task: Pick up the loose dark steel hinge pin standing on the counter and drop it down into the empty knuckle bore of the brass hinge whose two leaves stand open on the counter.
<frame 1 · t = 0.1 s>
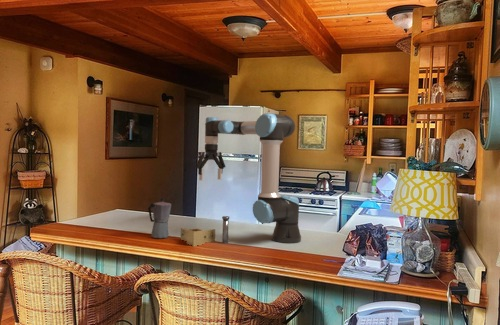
hand: (210, 179, 236), 28 cm above the countertop, fingers open, 13 cm apart
hinge: (194, 244, 195), on the countertop
pin: (225, 242, 200), on the countertop
moka pot: (159, 237, 208), on the countertop
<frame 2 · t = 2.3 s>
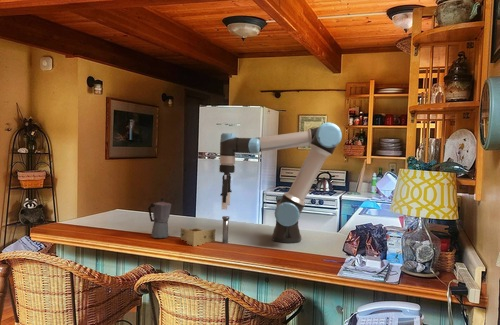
hand: (225, 207, 200), 18 cm above the countertop, fingers open, 13 cm apart
nothing on the countertop moved.
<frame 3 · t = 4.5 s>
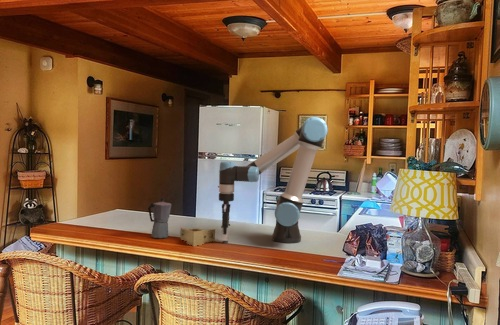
hand: (225, 239, 200), 2 cm above the countertop, fingers closed on pin, 3 cm apart
pin: (225, 242, 200), on the countertop, touching gripper
everything else where it was.
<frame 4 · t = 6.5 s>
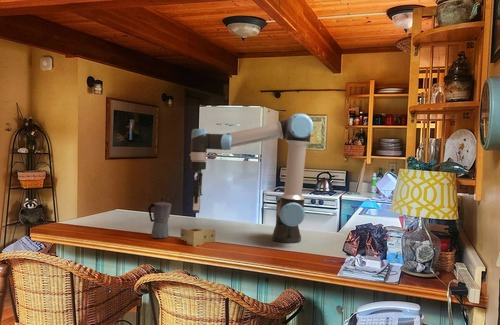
hand: (196, 209, 195), 17 cm above the countertop, fingers closed on pin, 3 cm apart
pin: (196, 212, 195), point 16 cm above the countertop, touching gripper
everything else where it was.
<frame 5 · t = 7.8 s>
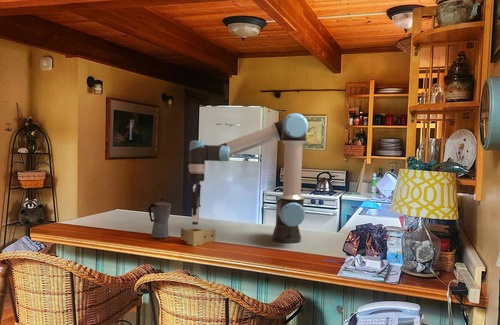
hand: (195, 220, 195), 11 cm above the countertop, fingers closed on pin, 3 cm apart
pin: (195, 224, 195), point 10 cm above the countertop, touching gripper
everything else where it was.
when the fingers open (8 cm above the countertop, at t = 8.7 s): pin drops 6 cm, resting in hinge.
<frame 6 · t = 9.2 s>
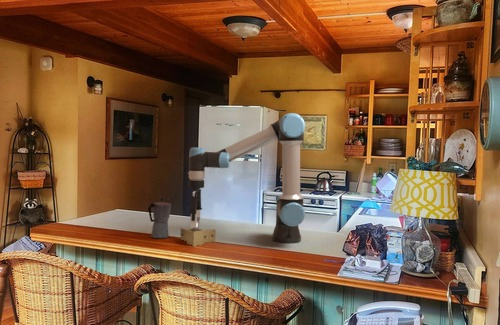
hand: (195, 225, 195), 9 cm above the countertop, fingers open, 10 cm apart
pin: (194, 244, 195), resting in hinge
everything else where it was.
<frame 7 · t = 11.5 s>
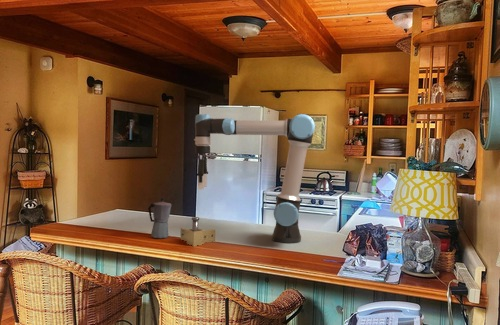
hand: (202, 187, 202), 27 cm above the countertop, fingers open, 13 cm apart
nothing on the countertop moved.
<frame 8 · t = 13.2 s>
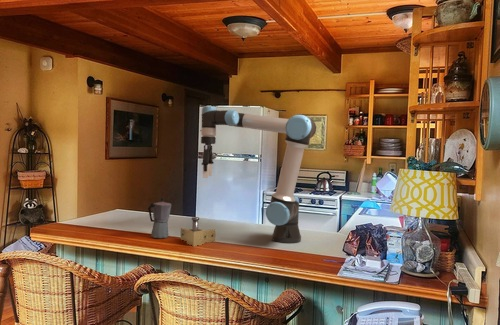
hand: (207, 176, 211), 32 cm above the countertop, fingers open, 13 cm apart
nothing on the countertop moved.
at the end: pin 0.1 cm off-centre on the hinge, point 0.0 cm above the hinge's base; pin tilted 0°; the gripper is holding nothing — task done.
